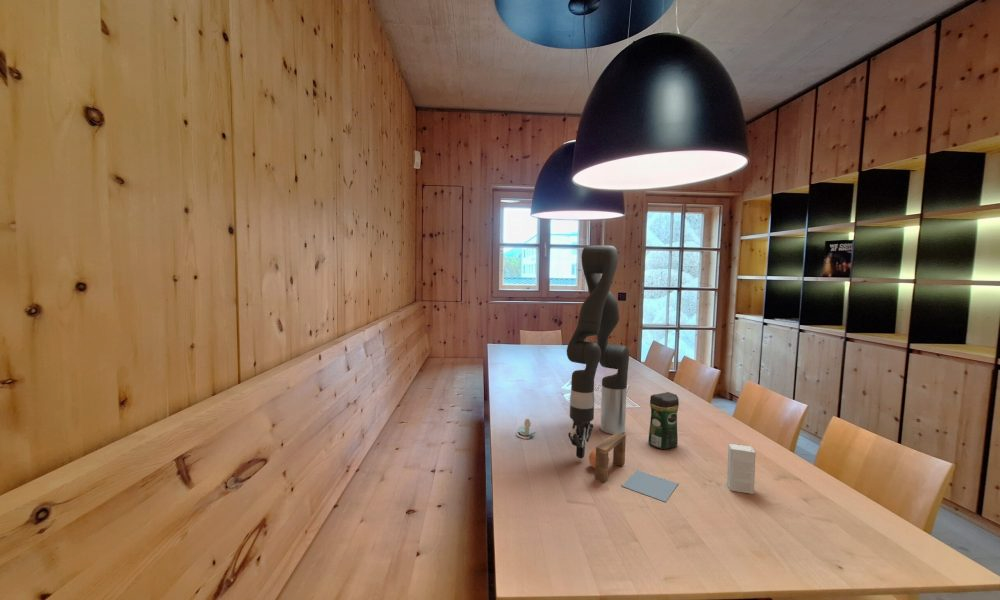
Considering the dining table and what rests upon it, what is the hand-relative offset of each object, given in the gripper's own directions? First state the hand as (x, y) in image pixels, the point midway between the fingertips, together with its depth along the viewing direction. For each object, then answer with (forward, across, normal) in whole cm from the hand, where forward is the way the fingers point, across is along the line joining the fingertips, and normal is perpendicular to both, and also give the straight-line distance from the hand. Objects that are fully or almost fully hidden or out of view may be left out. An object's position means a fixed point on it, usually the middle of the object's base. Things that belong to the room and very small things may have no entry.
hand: (580, 456), depth 127 cm
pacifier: (+2, +5, +25) cm, 26 cm away
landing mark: (+2, 0, -22) cm, 22 cm away
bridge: (+2, 0, -10) cm, 10 cm away
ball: (-2, 0, -7) cm, 7 cm away
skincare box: (+2, +15, -42) cm, 45 cm away
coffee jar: (+2, +31, -16) cm, 35 cm away
